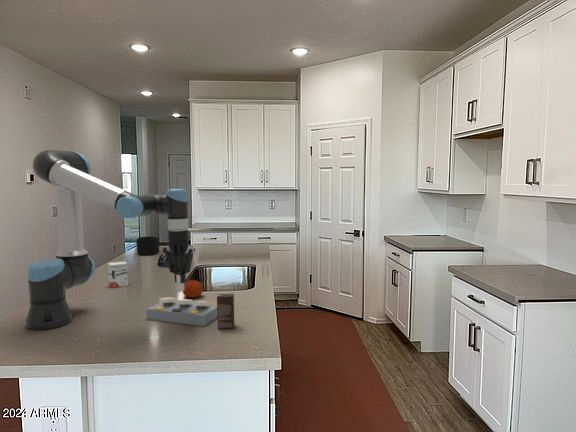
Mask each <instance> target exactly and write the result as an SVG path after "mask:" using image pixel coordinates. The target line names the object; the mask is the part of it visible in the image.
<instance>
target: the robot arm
mask: <svg viewBox="0 0 576 432" xmlns="http://www.w3.org/2000/svg"><path fill="white" fill-rule="evenodd" d="M91 168H92V167H91V164H90V161H89V160H88V158H87V157H86V156H85V155H83V154H82V153H80V152H76V151H74V150H73V151H70V150H68V151H67V150H58V149H57V150H56V149H45V150H41V152H38V153H37V154H36V155H35V156H34V158H33V160H32V170H33V172H34V174H35V175H36V176H37V177H38V178H39V179H40V180H42V181H44V182H47V183H49V184H51V186H52V187H53V188H55V190H56V196H57V197H56V199H57V216H58V217H57V219H58V220H57V221H58V239H59V241H58V242H59V251H57V252H56V254H55V257H54V258H53V257H52V258H46V259H41V260H37V261H35V262H33V263H32V264H30V265H29V266H28V272H27V273H28V274H27V280H28V282H27V283H28V294H29V296H28V297H29V308H28V312H27V316H26V318H25V328H26V329H28V330H33V331H34V330H35V331H40V330H41V331H42V330H50V329H55V328H59V327H63V326H65V325H68V324H69V323H70V322H72V321H73V315H72V311H71V310H70V307H69V305H68V302H67V298H66V297H67V296H66V290H69V289H72V288H75V287H78V286H81V285H84V284H85V283H87V282H89V281H90V280H91V279H92V277H94V274H95V271H96V270H95V269H96V265H95V261H94V259H92V257H90V256H89V251H88V250H87V249H85V248H84V247H85V244H84V243H85V242H84V226H83V225H84V223H83V220H84V219H83V200H82V199H83V198H82V196H84V197H86V198H89V199H91V200H94V201H96V202H98V203H100V204H102V205H104V206H107V207H109V208H111V209H113V210H115V211H116V212H117V213H118V214H119V216H120V217H122V218H125V219H135V218H138V217H144V216H150V215H167V230H168V232H167V237H168V238H167V239H168V241H169V242H168V244H167V245H168V246H167V245H166V247H163V249H162V252H163V251H164V252H165V253H164V255H165V254H166V255H165V256H166V258H167V262H168V264H167V267H169V268H168V270H169V273H172V274H174V283H176V292H177V293H181V292H183V291H184V284H185V283H186V280H187V279H186V274H188V273H190V272H191V269H192V262H193V257H194V253H195V252H196V248H195V247H192V246H191V245H190V244H191V243H190V242H189V240H190V234H189V232H190V231H189V211H188V209H189V208H188V207H189V203H188V201H189V199H188V192H187V190H186V189H185V188H167V190H166V193H164V194H160V193H159V194H158V193H157V194H156V193H153V194H152V193H151V194H150V193H144V194H138V195H137V194H134V193H132V192H129V191H127V190H125V189H122V188H120V187H118V186H116V185H115V184H114V185H113V184H111V183H109V182H107V181H105V180H102V179H101V178H98V177H96V176H93V175H91V172H92V171H91ZM171 251H172V252H171ZM186 253H187V257H185V256H186ZM166 258H165V259H166ZM167 262H166V263H167Z"/></svg>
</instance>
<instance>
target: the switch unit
mask: <svg viewBox="0 0 576 432" xmlns="http://www.w3.org/2000/svg"><path fill="white" fill-rule="evenodd" d="M145 311H146V314H145V315H146V320H151V321H158V322H165V323H167V322H168V323H176V324H183V325H190V326H198V327H205V326H207V325H208V324H211V322H213V321H214V320H216V319H218V315H217V303H213V302H212V303H211V302H210V306H195V305H192V304H185V305H182V304H175V302H169V303H164V302H157V303H156V304H154V305H152V306H150V307H148V308H146V310H145Z"/></svg>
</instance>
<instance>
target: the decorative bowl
mask: <svg viewBox="0 0 576 432" xmlns="http://www.w3.org/2000/svg"><path fill="white" fill-rule="evenodd" d="M167 246H168V244H167V245H166V247H167ZM171 252H172V251H171ZM163 253H164V254H163ZM187 253H188V252H186V256H185V257H187ZM157 267H160V268H166V269H167V268H168V269H169V266H168V262H167V258H166V254H165V252H164V251H163V250H162V253H161V254H160V256H159V257H158V261H157Z"/></svg>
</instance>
